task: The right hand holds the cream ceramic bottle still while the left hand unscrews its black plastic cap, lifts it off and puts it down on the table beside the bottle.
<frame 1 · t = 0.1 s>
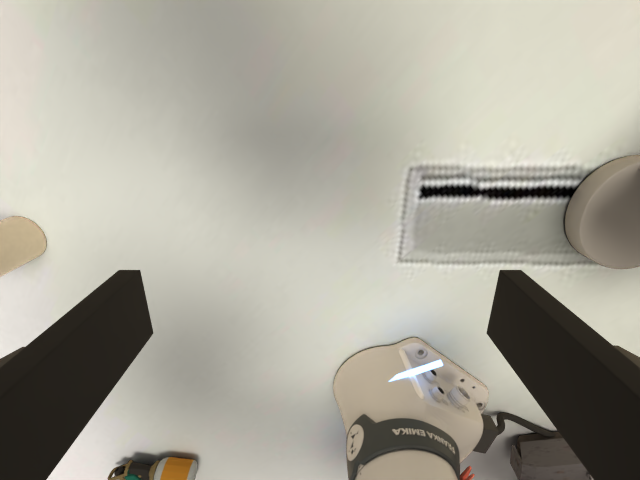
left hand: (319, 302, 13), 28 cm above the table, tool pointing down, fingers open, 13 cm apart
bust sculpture: (625, 177, 39), on the table
toy: (580, 469, 57), on the table
bottle: (23, 237, 42), on the table
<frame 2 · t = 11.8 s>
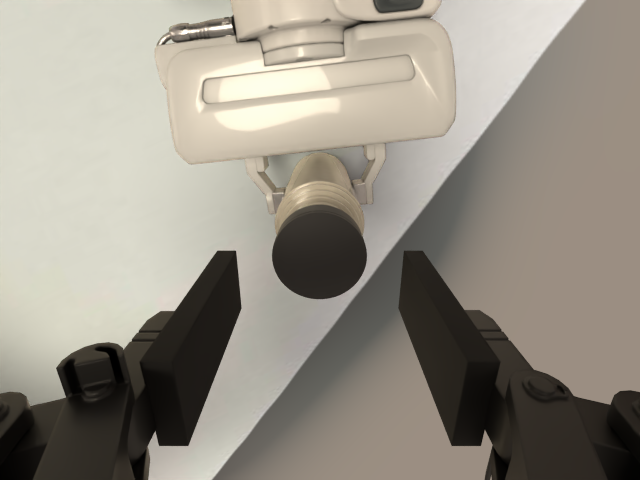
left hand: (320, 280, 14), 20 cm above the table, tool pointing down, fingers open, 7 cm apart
right hand: (321, 207, 28), fingers closed on bottle, 5 cm apart
cap: (319, 255, 17), point 18 cm above the table, screwed on, not yet turned
bottle: (319, 181, 33), on the table, touching right hand
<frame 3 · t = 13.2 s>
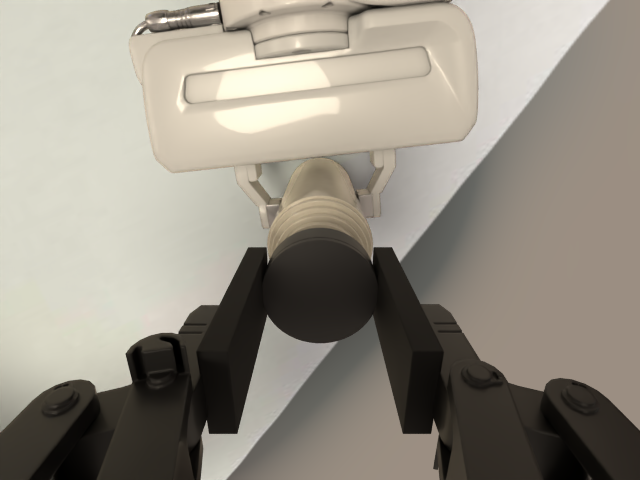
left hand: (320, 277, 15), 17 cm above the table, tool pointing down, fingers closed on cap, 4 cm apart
right hand: (322, 220, 25), fingers closed on bottle, 5 cm apart
cap: (320, 291, 14), point 18 cm above the table, screwed on, not yet turned, touching left hand
bottle: (320, 189, 30), on the table, touching right hand
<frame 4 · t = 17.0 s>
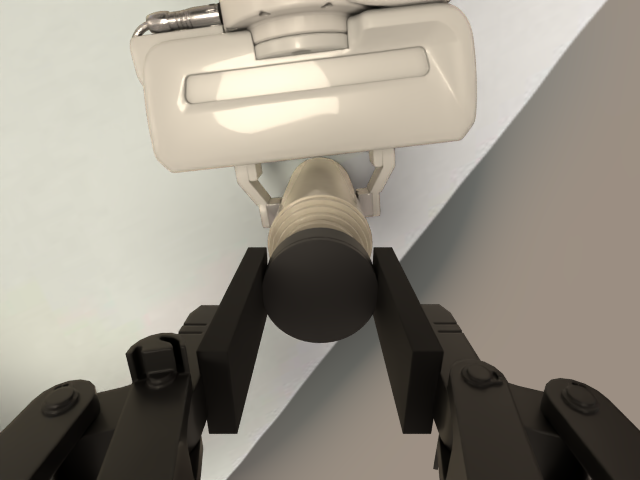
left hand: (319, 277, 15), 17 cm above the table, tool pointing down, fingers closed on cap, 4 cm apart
right hand: (322, 219, 25), fingers closed on bottle, 5 cm apart
cap: (320, 291, 14), point 18 cm above the table, turned 145° so far, risen 0.2 cm, still on its thread, touching left hand
bottle: (320, 188, 30), on the table, touching right hand
when the left hand's fingers open (2 cm above the table, at t = 28.5 s): cap drops 2 cm, point 1 cm above the table.
when the right hand's fingers open (6 cm above the table, at t = 29.8 s): bottle stays where it is, on the table.
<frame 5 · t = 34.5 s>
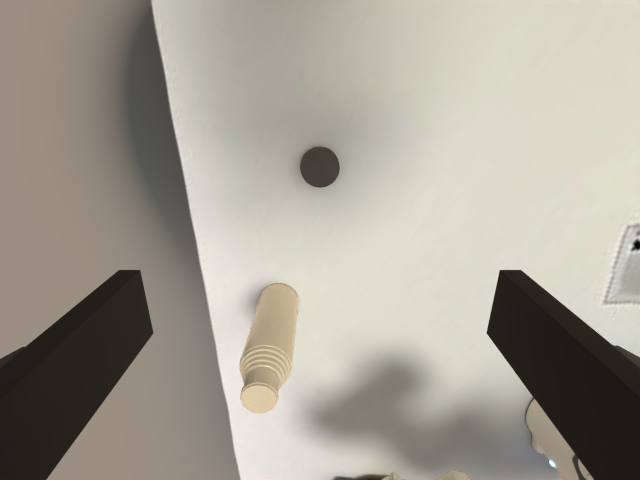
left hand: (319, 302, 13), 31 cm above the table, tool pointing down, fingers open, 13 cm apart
cap: (320, 167, 41), point 1 cm above the table, off its thread
bottle: (279, 300, 49), on the table
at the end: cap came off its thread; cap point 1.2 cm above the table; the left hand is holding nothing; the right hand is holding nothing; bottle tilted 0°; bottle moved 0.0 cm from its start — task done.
